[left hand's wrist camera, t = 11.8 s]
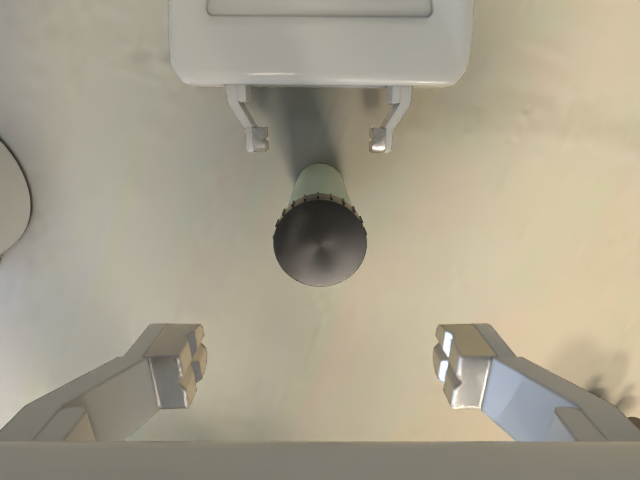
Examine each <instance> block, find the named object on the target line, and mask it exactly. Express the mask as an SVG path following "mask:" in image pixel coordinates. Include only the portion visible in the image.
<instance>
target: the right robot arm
mask: <svg viewBox="0 0 640 480" xmlns="http://www.w3.org/2000/svg"><path fill="white" fill-rule="evenodd" d="M473 15H474V0H168V39H169V54H170V62H171V67H172V69H173V71H174V72H175V73H176V74H177V76H178V77H179V78H180V79H181V80H182V81H183V82H184V83H186V84H189V85H192V86H199V87H226V92H227V103H228V104H229V106H230V107H231V109H232V111H233V112H234V114H235V115H236V117H237V119H238V120H239V122H240V123H241V125H242V127H244V128H245V138H246V149H247V152H267V151H268V149H269V142H268V140H267V137H268V127H257V125H256V123H255V121H254V119H253V118H252V116H251V114H250V112H249V111H248V109H247V107H246V106H245V104H244V103H251V102H252V94H251V87H315V88H387V98H386V103H387V104H394V105H393V107H392V108H391V110H390V112H389V113H388V115H387V117H386V118H385V120H384V122H383V123H382V125H381V128H370V138H371V141H370V142H369V151H370V152H371V153H390V152H391V148H392V136H393V129H394V128H395V127H396V126H397V124H398V123H399V121H400V120H401V118H402V117H403V115H404V114H405V112H406V110H407V109H408V107H409V106H410V104H411V96H412V88H445V87H449V86H453V85H454V84H455V83H456V82H457V81H458V80H459V79H460V78H461V77H462V75H463V74H464V73H465V71H466V69H467V67H468V63H469V57H470V50H471V41H472V31H473ZM30 210H31V204H30V195H29V190H28V186H27V183H26V180H25V178H24V175H23V173H22V171H21V169H20V167H19V165H18V163H17V162H16V160H15V159H14V157H13V156H12V154H11V153H10V152H9V150H8V149H7V148H6V147H5V145H4V144H3V143H2V142H1V141H0V258H1V255H2V254H3V252H4V251H6V250H7V249H8V248H9V247H11V246H12V245H13V244H15V243H16V242H17V241H18V240H19V239H20V237H21V236H22V235H23V233H24V231H25V230H26V227H27V225H28V222H29V218H30Z"/></svg>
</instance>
